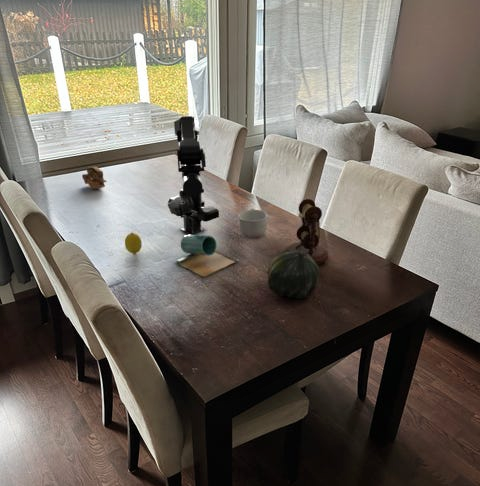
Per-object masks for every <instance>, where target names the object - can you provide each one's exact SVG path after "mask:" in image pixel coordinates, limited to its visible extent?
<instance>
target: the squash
mask: <svg viewBox="0 0 480 486" xmlns="http://www.w3.org/2000/svg"><path fill="white" fill-rule="evenodd" d="M318 265H319V264H316V263H315V261H314V260H313V259H312V257H311V256H310V255H309V254H307V253H305V252H303V251H291V252H286V253H284V252H283V253H281V254H279V255H277V256H276V257H274V258H273V259H272V260H271V262H269V265H268V268H267V285H268V287H269V289H270V290H271V291H272V292H273V293H276V294H278V295H279V296H281V297H285V296H286V297H288V298H294V299H297V300H303V299H304V298H306V297H308V296H310V295H312V293H314V292H315V291H316V288H317V285H318V281H319V278H320V268H319V266H318Z"/></svg>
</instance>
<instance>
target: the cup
mask: <svg viewBox="0 0 480 486" xmlns="http://www.w3.org/2000/svg"><path fill="white" fill-rule="evenodd" d="M217 247H218V246H217V241H216V238H214V236H212V235H203V234H192V235H191V234H189V233H188V234H185V235H184V236H183V237H182V238H181V240H180V248H181V250H182V252H184V253H185V254H188V255H190V254H197V255H205V256H210V255H213V254H214V252H215V253H216V250H217Z"/></svg>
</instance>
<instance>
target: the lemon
mask: <svg viewBox="0 0 480 486" xmlns="http://www.w3.org/2000/svg"><path fill="white" fill-rule="evenodd" d="M142 243H143V242H142V238H141V237H140V235H138V234H137V233H136V232H130V233H128V234H127V235H126V236H125V239H124V246H125V249H126V250H127V252H129V253H130V254H133V255H136V254H137V253H139V252H140V251H141V250H142Z"/></svg>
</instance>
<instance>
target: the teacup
mask: <svg viewBox="0 0 480 486" xmlns="http://www.w3.org/2000/svg"><path fill="white" fill-rule="evenodd" d="M237 217H238V218H237V219H238V228H239V231H240V233H241V234H243V235H244V236H246V237H248V238H258V237H261V236H263V234H265V233H266V231H267V229H268V217H269V215H268V213H267V211H264V210H261V209H255V208H254V207H252V208H250V209H248V210H247V209H246V210H243V211H242V212H241V211H240V213H239V214H238V215H237Z"/></svg>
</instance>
